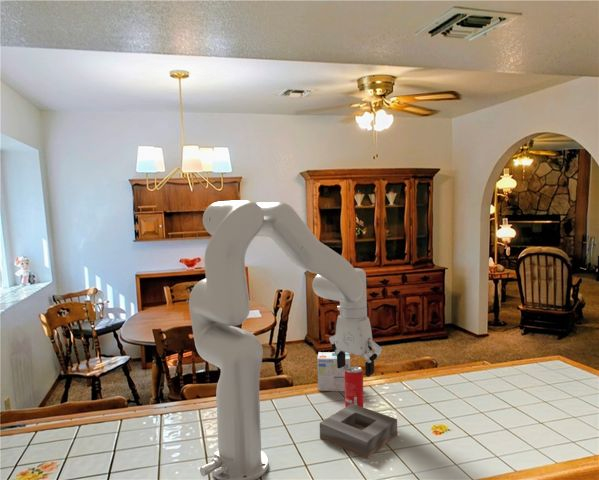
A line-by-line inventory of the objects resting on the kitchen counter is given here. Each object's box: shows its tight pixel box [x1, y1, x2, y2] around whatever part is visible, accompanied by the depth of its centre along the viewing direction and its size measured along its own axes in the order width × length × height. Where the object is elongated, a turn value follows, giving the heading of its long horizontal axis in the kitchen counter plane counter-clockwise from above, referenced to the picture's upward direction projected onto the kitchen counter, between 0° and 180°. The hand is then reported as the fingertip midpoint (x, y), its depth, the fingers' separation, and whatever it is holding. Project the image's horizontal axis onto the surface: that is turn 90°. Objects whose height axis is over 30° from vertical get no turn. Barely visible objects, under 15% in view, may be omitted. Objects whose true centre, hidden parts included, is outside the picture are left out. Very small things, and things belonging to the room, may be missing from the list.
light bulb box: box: [316, 351, 352, 392], centre depth 139 cm, size 11×7×11 cm, turn 84°
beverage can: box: [344, 365, 364, 408], centre depth 123 cm, size 5×5×12 cm
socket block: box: [319, 404, 398, 459], centre depth 109 cm, size 14×14×4 cm
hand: (355, 370), depth 123 cm, fingers open, 9 cm apart
